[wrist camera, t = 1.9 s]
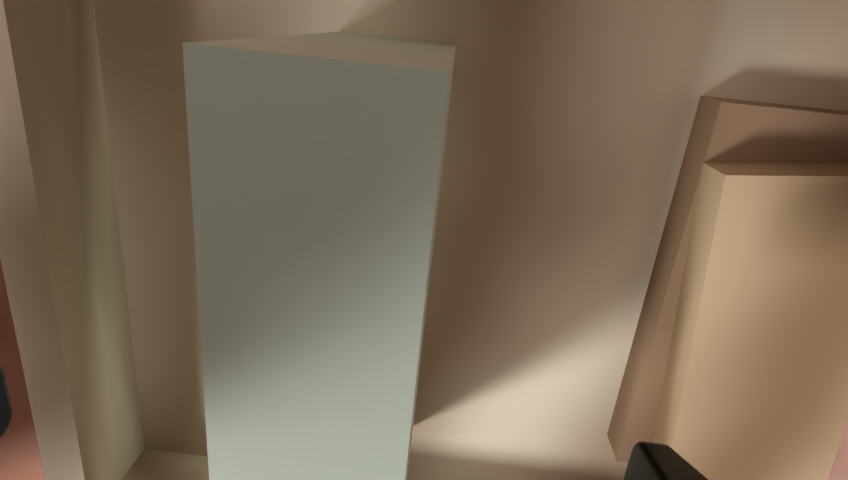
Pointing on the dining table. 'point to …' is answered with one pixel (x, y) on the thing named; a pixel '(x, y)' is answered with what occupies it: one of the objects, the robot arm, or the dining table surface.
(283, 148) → the sheet
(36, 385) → the rack
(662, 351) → the offcut
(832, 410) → the offcut
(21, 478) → the dining table surface
